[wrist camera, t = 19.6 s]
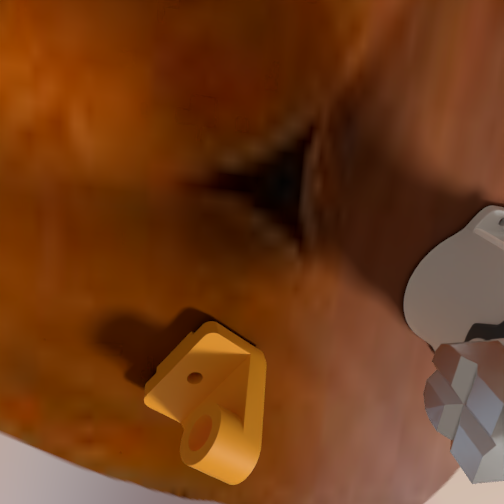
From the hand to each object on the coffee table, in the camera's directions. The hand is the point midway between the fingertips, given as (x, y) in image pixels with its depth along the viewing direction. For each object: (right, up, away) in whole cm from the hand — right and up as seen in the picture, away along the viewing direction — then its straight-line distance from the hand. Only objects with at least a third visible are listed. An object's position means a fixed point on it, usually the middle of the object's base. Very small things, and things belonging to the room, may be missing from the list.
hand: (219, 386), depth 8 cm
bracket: (-5, -9, +40) cm, 41 cm away
